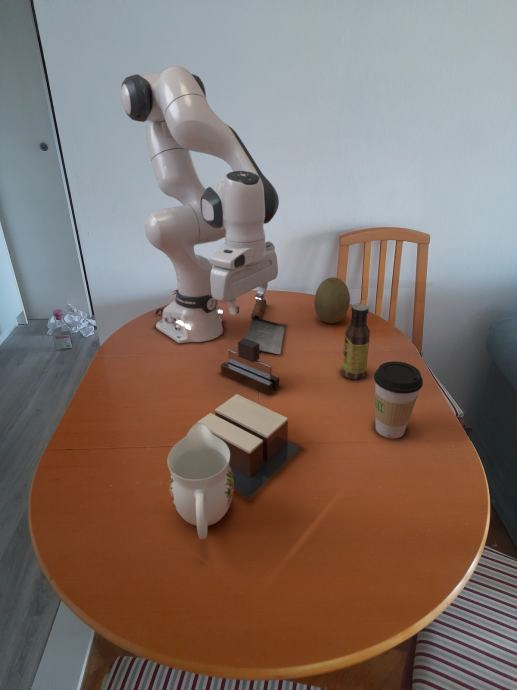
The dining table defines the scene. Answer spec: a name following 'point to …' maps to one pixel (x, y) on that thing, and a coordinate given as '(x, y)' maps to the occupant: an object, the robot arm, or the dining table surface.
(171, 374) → the dining table surface
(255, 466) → the cake slice
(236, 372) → the stand
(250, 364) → the dough scraper
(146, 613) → the dining table surface
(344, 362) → the sauce bottle
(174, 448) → the pitcher
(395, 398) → the coffee cup
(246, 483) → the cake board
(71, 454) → the dining table surface
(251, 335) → the meat cleaver
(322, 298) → the fruit
